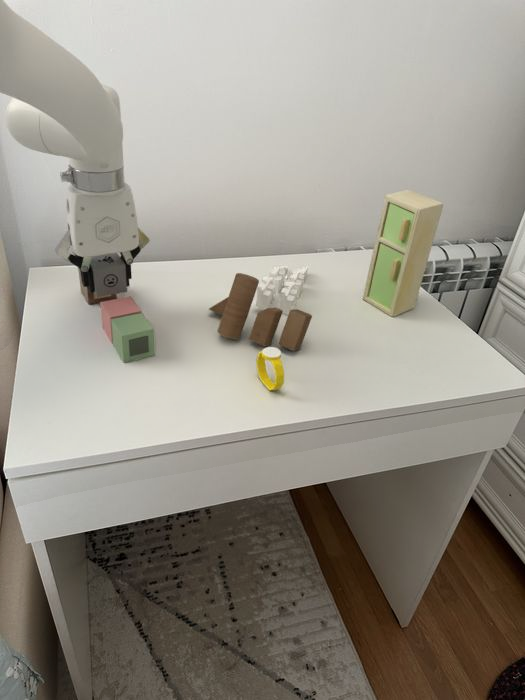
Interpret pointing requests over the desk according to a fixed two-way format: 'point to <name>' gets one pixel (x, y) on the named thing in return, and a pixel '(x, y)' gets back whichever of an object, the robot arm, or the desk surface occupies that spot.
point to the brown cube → (93, 294)
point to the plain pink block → (116, 312)
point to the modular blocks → (276, 282)
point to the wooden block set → (258, 317)
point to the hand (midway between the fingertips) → (107, 285)
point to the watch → (274, 357)
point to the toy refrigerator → (401, 251)
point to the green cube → (133, 337)
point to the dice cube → (108, 274)
